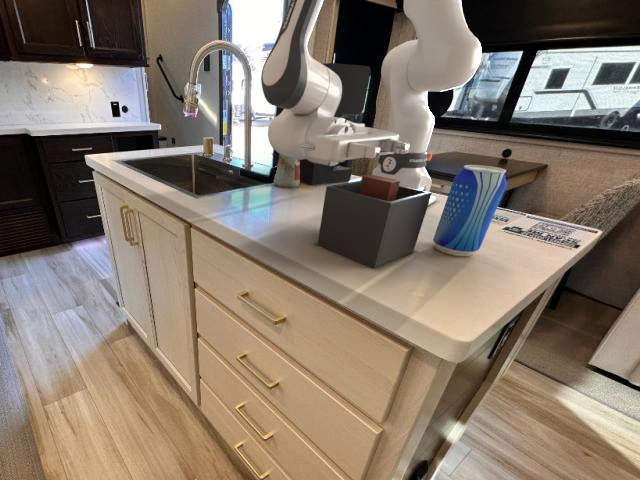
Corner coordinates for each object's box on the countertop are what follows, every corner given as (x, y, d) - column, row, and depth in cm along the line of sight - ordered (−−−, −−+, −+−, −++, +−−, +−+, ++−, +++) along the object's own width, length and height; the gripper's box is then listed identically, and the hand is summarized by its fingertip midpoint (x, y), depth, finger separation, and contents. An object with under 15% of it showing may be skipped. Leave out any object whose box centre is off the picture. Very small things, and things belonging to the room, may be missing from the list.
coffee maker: (359, 183, 122) (384, 65, 103) (318, 188, 113) (337, 60, 95) (309, 169, 142) (322, 68, 124) (271, 172, 134) (278, 65, 115)
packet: (357, 238, 72) (371, 174, 65) (382, 247, 68) (400, 180, 61) (348, 241, 70) (362, 176, 63) (373, 251, 66) (391, 182, 59)
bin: (357, 232, 77) (368, 178, 71) (413, 251, 68) (432, 192, 62) (317, 244, 70) (326, 186, 64) (374, 268, 61) (391, 203, 55)
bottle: (269, 183, 118) (276, 88, 103) (293, 182, 120) (303, 89, 105) (278, 189, 111) (286, 88, 96) (303, 188, 113) (315, 89, 98)
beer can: (483, 260, 66) (521, 174, 57) (437, 255, 67) (468, 170, 59) (468, 244, 73) (499, 165, 64) (426, 240, 74) (452, 162, 66)
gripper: (296, 126, 61) (360, 133, 52) (363, 122, 72) (427, 128, 63) (292, 163, 64) (352, 176, 55) (357, 154, 75) (417, 164, 66)
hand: (392, 150), depth 59 cm, fingers open, 8 cm apart
